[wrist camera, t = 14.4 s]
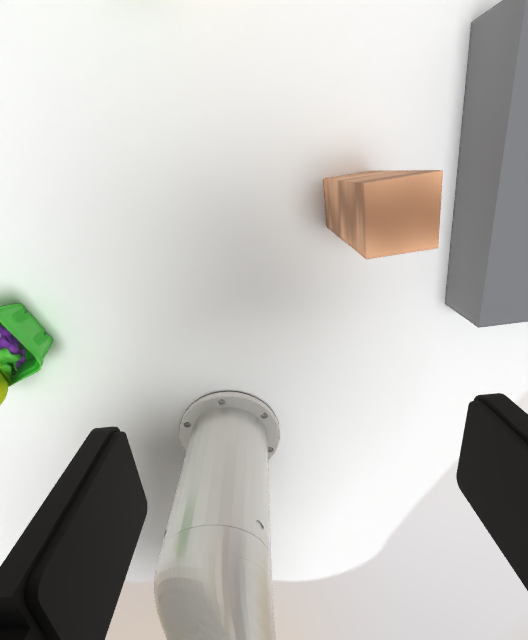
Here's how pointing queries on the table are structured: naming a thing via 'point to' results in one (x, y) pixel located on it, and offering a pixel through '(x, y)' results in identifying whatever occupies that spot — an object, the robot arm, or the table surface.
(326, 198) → the wooden block
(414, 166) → the table surface
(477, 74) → the grey block with hole
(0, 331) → the fruit basket
